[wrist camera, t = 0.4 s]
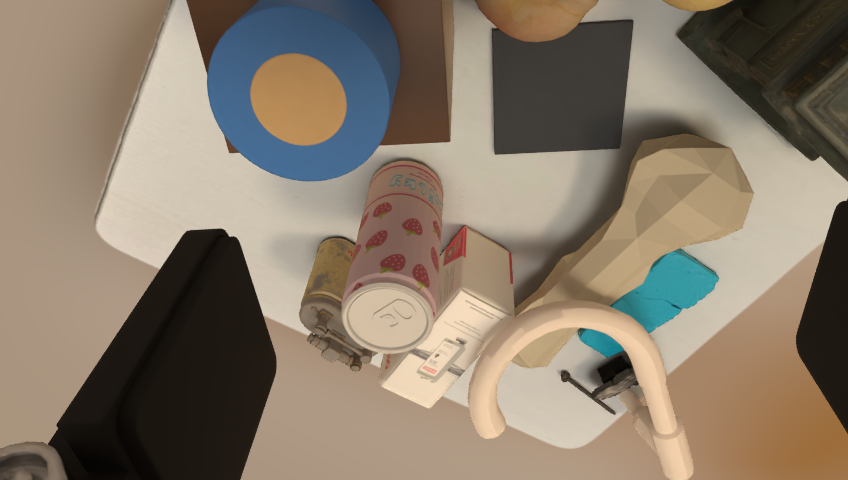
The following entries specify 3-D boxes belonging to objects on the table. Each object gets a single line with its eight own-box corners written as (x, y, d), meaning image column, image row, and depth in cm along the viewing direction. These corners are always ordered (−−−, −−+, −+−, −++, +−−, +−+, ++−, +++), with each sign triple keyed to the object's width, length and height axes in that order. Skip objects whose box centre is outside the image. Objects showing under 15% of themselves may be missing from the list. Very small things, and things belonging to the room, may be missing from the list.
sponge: (624, 361, 57) (573, 330, 56) (723, 273, 51) (667, 237, 50) (627, 372, 56) (574, 342, 55) (728, 284, 50) (671, 247, 49)
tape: (226, -18, 24) (182, 13, 20) (391, -31, 23) (378, -1, 20) (263, 135, 28) (232, 186, 24) (407, 127, 27) (398, 178, 23)
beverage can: (456, 176, 47) (453, 305, 35) (424, 232, 50) (411, 369, 38) (387, 146, 46) (359, 268, 34) (358, 205, 49) (323, 337, 37)
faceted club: (770, 160, 44) (550, 359, 58) (674, 87, 44) (476, 305, 57) (794, 211, 37) (536, 426, 50) (679, 124, 36) (450, 364, 50)
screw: (568, 376, 57) (566, 368, 58) (559, 381, 58) (557, 373, 59) (620, 415, 61) (617, 407, 61) (612, 420, 61) (609, 412, 62)
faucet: (506, 489, 60) (409, 310, 48) (640, 407, 61) (579, 214, 49) (550, 565, 53) (448, 377, 40) (701, 470, 54) (646, 261, 42)
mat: (492, 28, 41) (492, 30, 41) (632, 19, 40) (633, 21, 40) (494, 152, 46) (494, 154, 46) (619, 146, 45) (620, 148, 45)
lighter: (309, 255, 52) (281, 338, 44) (335, 226, 50) (310, 307, 42) (377, 299, 54) (362, 386, 46) (404, 273, 53) (394, 358, 44)
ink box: (512, 250, 51) (435, 339, 57) (462, 221, 50) (389, 315, 56) (517, 319, 44) (429, 413, 50) (459, 288, 43) (375, 387, 48)
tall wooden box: (282, -92, 38) (175, -37, 24) (447, -106, 37) (438, -58, 23) (306, 41, 42) (228, 153, 28) (454, 31, 41) (450, 142, 27)
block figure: (599, 377, 61) (649, 350, 58) (610, 400, 60) (662, 373, 57) (572, 373, 56) (625, 343, 54) (584, 397, 55) (639, 368, 53)
